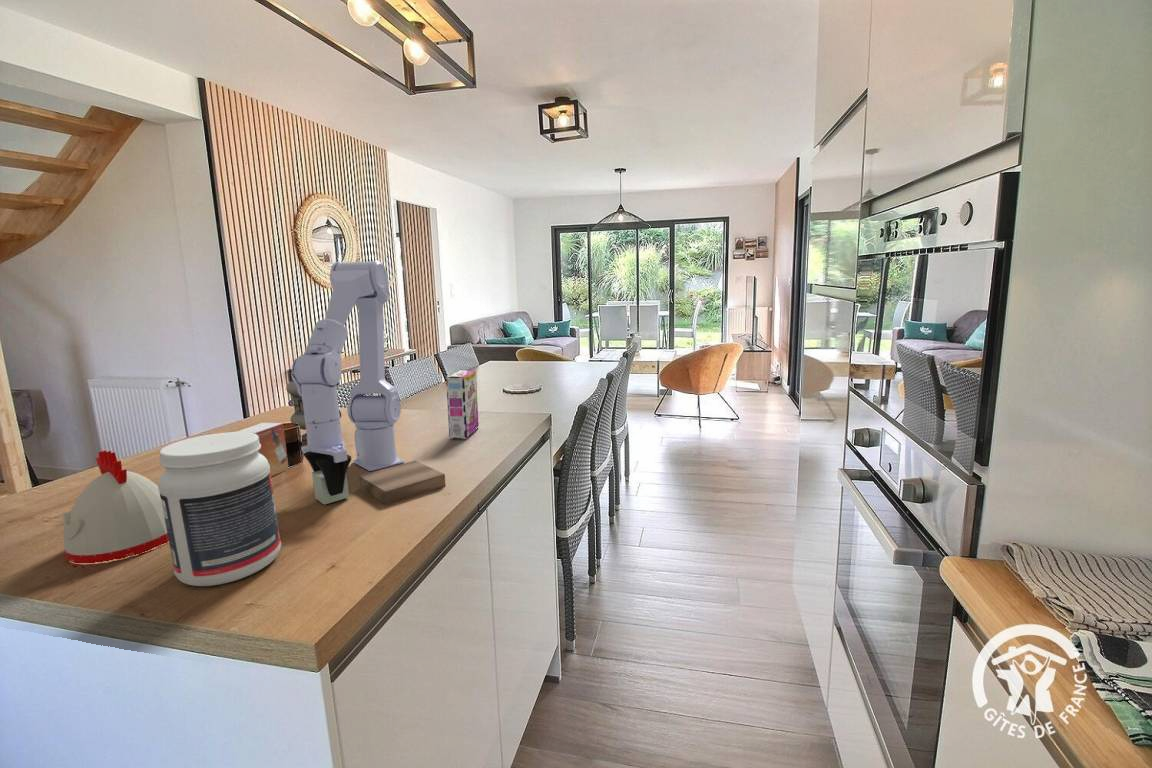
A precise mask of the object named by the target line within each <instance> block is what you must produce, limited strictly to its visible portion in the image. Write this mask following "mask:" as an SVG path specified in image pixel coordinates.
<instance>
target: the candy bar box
mask: <svg viewBox="0 0 1152 768" xmlns="http://www.w3.org/2000/svg"><path fill="white" fill-rule="evenodd" d="M477 382H478V381H477V371H476V370H473V369H472V370H471V369H470V370H469V369H468V370H467V369H465V370H458V371H456V372H454V373H451V374H450V375H448V376H446V377H445V384H446V386H445V387H446V401H447V416H448V417H447V420H448V433H449V440H455V439H466V440H468V439H469V438H470V437H471V436H472V435H473V434H474V433H475V432H476V431H477V430H476V428H477V427H478V426H479V412H478V411H479V409H478V407H479V406H478V405H479V404H478V386H477V385H478V383H477ZM475 430H476V431H475ZM474 431H475V432H474ZM473 432H474V433H473ZM472 433H473V434H472ZM471 434H472V435H471ZM470 435H471V436H470ZM469 436H470V437H469ZM468 437H469V438H468ZM467 438H468V439H467Z"/></svg>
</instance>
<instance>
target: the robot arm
mask: <svg viewBox="0 0 1152 768" xmlns="http://www.w3.org/2000/svg"><path fill="white" fill-rule="evenodd" d="M329 272H330V273H329V281H330V286H331V288H332V291H331V295H330V297H329V302H328V307H327V310H326V313H325V316H324V317H325V318H323V319H319V320H318V321H317V322H316V323H315V325H314V327H313V330H312V332H311V335H310V338H309V340H308V343H307V346H306V348H305V350H304V353H303V354H301V355H299V356H298V357H296V358H295V359H294V361H293V362H292V365H291V372H290V377H291V380H293V382H294V383H295V384H296V386H297V390H298V394H299V396H302V401H303V409H304V417H305V425H306V430H305V431H306V432H305V433H307V443H306V445H304V446H300V449H301V452H303V457H304V458H305V459H306V460H307V461H308V463H309V465H310V467H311V469H312V471H313V472H316V471H320V470H321V471H322V473H323V475H324V478H325V481H326V485H327V489H328V492H329V494H330V495H331V496H334V495H337V494H341V493H343V488H344V481H345V475H346V474H347V471H348V468H349V465H350V463H351V461H352V462H353V464H356V465H358V466H359V467H361V468H363V469H365V470H366V471H367V472H374V471H378V470H381V469H385V468H389V467H393V466H396V465H400V464H404V463H405V460H404V459H402V458H400V457H397V448H396V437H395V427H394V425H395V424H397V421H398V420H399V419H400V417H401V411H402V408H401V407H402V405H401V402H400V398H399V392H398V391H399V390H398V389H397V388H396V386H394V385H392V384H391V383H390V382H388V381H387V380H386V377H385V375H386V374H385V373H386V372H385V370H386V369H385V367H386V366H385V333H384V330H385V329H384V325H385V324H384V304H386V303H387V302H388V301H389V291H390V290H389V288H390V287H389V274H388V272H387V270H386V267H385V265H384V264H383V263H382V262H381V261H380V260H373V261H372V260H371V261H343V262H342V261H335V262H334V263H333V264H332V265H331V268H330V270H329ZM354 306H355V307H356V308H357V310H358V340H359V347H358V348H359V377H360V378H359V382H358V383H356V385H355V386H353V387H352V388H351V389H350V390H349V399H348V403H347V408H346V409H347V416H348V418H349V419H348V420H350V422H351V423H352V424H354V427H355V431H354V436H353V437H354V443H355V444H354V446H355V453H356V454H355V455H356V459H352V456H351V455H349V454H348V452H347V451H348V450H347V449H346V448H345V441H344V440H345V439H343V433H342V426H341V425H342V424H341V418H340V415H339V410H340V407H339V400H338V399H339V397H338V391H337V386H336V384H337V385H338V383H339V382H340V379H341V378H342V372H343V371H342V369H343V368H342V363H343V358H342V357H341V355H342V351H343V349H344V346H345V343H346V342H347V338H348V335H349V333H348V328H347V327H346V326H345V325H346V323H347V320H348V319H349V317H350V314H351V313H352V310H353V308H354ZM369 394H370V395H369ZM371 394H372V395H371ZM373 394H374V395H373ZM375 394H378V395H375Z"/></svg>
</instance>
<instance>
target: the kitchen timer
mask: <svg viewBox="0 0 1152 768" xmlns="http://www.w3.org/2000/svg"><path fill="white" fill-rule="evenodd" d="M97 453H98V457H95V459H96V460H95V461H96V464H97V466H98V469H99V471H100V474H101V475H99V476H98V477H97V476H96V478H94V479H92V481H91V482H89V483H88V484H87V485H86V486H85V487H84V488H83V490H81V492H80V494H79V495H78V497H77V499H76V500H75V502H74V503H73V506H72V507H71V508H70V512H63V513H62V536H63V548H64V549H63V550H64V554H65V558H67V559H68V560H67V559H66V560H67V562H68V561H71V562H74V563H95V562H103V561H109V560H113V559H121V558H125V557H128V556H132V555H136V554H140V553H142V552H145V551H148V550H150V549H152V548H154V547H157V546H159V545H161V544H164V543H167V542H168V541H169V539H168V534H167V529H166V523H165V518H164V513H163V508H162V503H161V498H160V492H159V490H158V484H156V483H154V482H153V481H152V480H151V479H149V478H148V477H146V476H144V475H142V474H139V473H136V472H133V471H129V470H127V469H123V467H122V460H118V459H117V455H116V452H115V451H114V452H112V451H111V450H108V451H107V450H106V449H105V450H101V451H98V452H97ZM167 544H168V543H167Z"/></svg>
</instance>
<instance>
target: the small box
mask: <svg viewBox="0 0 1152 768" xmlns="http://www.w3.org/2000/svg"><path fill="white" fill-rule="evenodd" d="M235 432H250V433H254V434H257V435H258V437H259V442H260V444H261V448H260V449H259V450H258V452H259V453H260V454H262V455H263V456H264V457H265V458H266V459H267V460H268V463H269V465H270V474H271V478H272V477H273V476H276V475H278V474H280V473H283V472H286V471H288V470H289V462H288V454H287V445H286V439H285V429H284V424H283V423H280V422H277V423H276V422H260V423H258V424H255V425H252V426H249V427H247V428H243V429H240V430H235Z"/></svg>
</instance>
